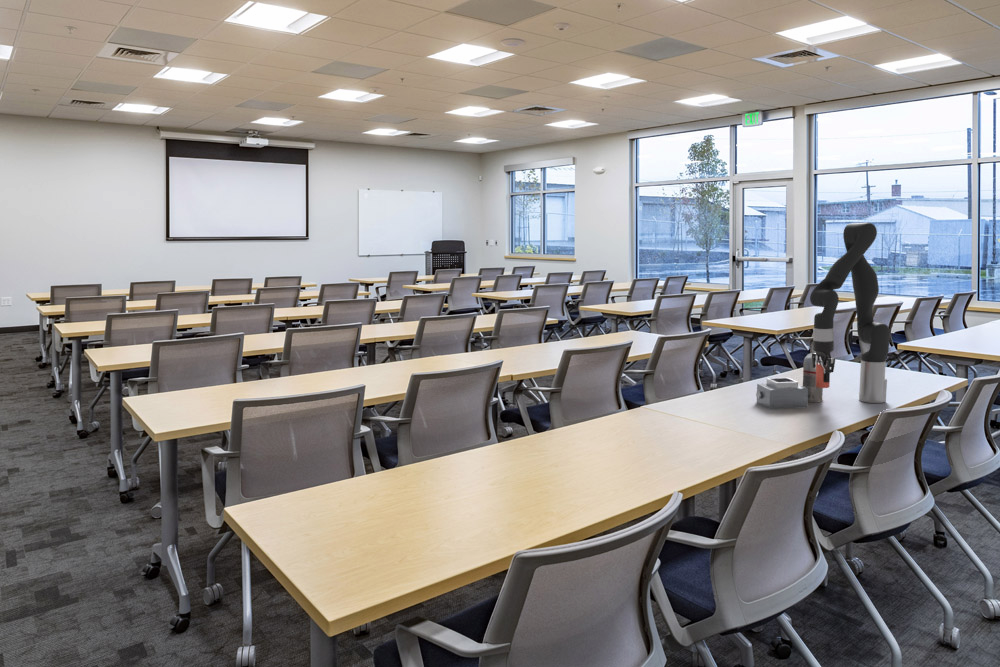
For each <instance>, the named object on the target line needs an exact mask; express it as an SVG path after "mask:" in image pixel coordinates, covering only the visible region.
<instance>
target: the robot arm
mask: <svg viewBox="0 0 1000 667" xmlns="http://www.w3.org/2000/svg"><path fill="white" fill-rule="evenodd" d="M877 234H878V230H877V226H875V224H873V223H872V222H853V223H848V224H846V226H845V227H844V229H843V235H842V236H843V237H842V238H843V242H844V246H845V251H846V252H845V253H844V254H843V255H841V257H840V258H838V259H837V260H836V261H835V262H833V265H832V266H831V267H830V269H829V270H828V272H827V274H826V276H825V277H824V278H823V279H822V280H821V281H820V282H819V283H818V284H817V285H816V286H815V287H814V288H813V290H812V291H811V294H810V296H809V302H810V303H811V305H812V306H814V307H819V308H823V309H822V312H817V313H816V314H815V315H814V318H813V332H812V333H813V334H812V335H813V336H812V337H813V338H812V339H813V340H812V350H813V353H812V363H813V368H815V370H816V365H815V364H820V362H816V360H820V361H821V367H822V368H823V371H824V376H823V381H824V382H825V383H826V382H831V381H830V379H831V378H830V377H831V375H830V374H831V373H834V370H835V365H836V364H835V363H836V358H834V357H832V354H831V353H832V352H834V348H835V342H834V341H835V333H834V317H835V314H836V311H837V308H838V304H839V301H840V300H839V294H838V292H836V290H839V289H840V288H842V286H843V285H844V283H845V282H846V279H847V278H848V276H849V275H850V273H851V281H852V288H853V293H854V300H855V310H856V327H857V331H856V332H857V336H858V339H859V340H860V341H861V342H862V343H865V344H870V346H869V350H868V351H864V352H862V353H861V354H860V369H859V372H860V374H859V388H858V389H859V390H858V391H859V392H858V400H859V402H863V403H870V404H880V403H884V402H885V403H886V402H887V388H888V387H887V386H888V379H887V378H886V364H887V357H888V354H889V349H890V340H891V331H890V328H889V326H888V325H887V324H886V323H883V322H876V321H875V320H874V314H873V307H874V305H875V302H876V300H877V298H878V295H879V291H880V288H879V281H878V275H877V272H876V271H875V269H874V268H873V267H872V265H871V264H870V263H869V261H867V259H866V256H865V253H866V252H867V251H868V249H870V248H871V247H872V245H873V243H874V241H875V240H876V238H877ZM815 358H816V359H815ZM826 367H827V368H826Z"/></svg>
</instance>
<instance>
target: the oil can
mask: <svg viewBox="0 0 1000 667" xmlns="http://www.w3.org/2000/svg"><path fill="white" fill-rule="evenodd" d="M816 362H820V364H816V387H818V388H823V389H828V388H830V382H831V381H830V382H826V383H825V382H824V381H823V376H824V371H823V368H822V367H821V361H820V360H816ZM826 368H827V367H826Z"/></svg>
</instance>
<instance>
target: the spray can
mask: <svg viewBox="0 0 1000 667" xmlns="http://www.w3.org/2000/svg"><path fill="white" fill-rule="evenodd" d="M815 359H816V358H815ZM815 365H816V364H815ZM802 368H803V369H802V370H803V371H802V373H803V374H802V375H803V376H802V386H804V387H806V388H808V402H809V403H821V402H822V401H824V399H823V390H824V388H818V387H816V370H815V368H813V363H812V353H811V352H810V353H808V354H807V355H806V356H805V357H804V359H803V366H802ZM808 402H807V403H808Z"/></svg>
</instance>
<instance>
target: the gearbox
mask: <svg viewBox="0 0 1000 667" xmlns="http://www.w3.org/2000/svg"><path fill="white" fill-rule="evenodd" d="M755 394H756V395H755V397H756V403H757V404H759V405H761V406H762V407H764V408H766V409H768V410H781V409H782V410H783V409H804V408H805V409H806V408H808V388H806V387H804V386H803V385H801V384H799V381H797V380H795V379H792V378H790V377H772V378H771V377H769V378H766V382H765V383H756V393H755Z"/></svg>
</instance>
